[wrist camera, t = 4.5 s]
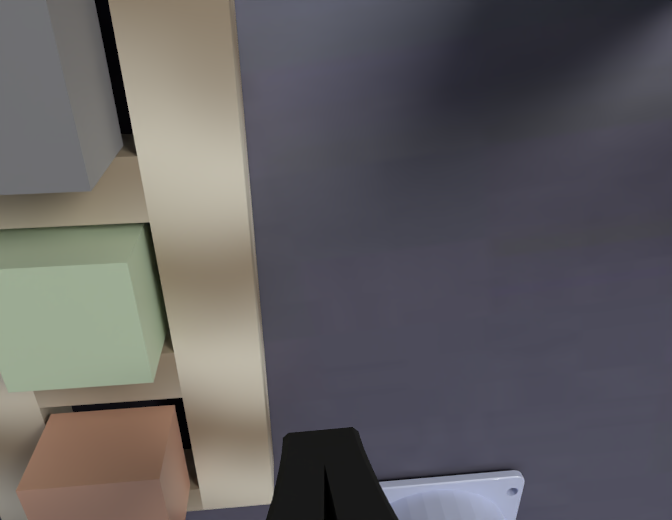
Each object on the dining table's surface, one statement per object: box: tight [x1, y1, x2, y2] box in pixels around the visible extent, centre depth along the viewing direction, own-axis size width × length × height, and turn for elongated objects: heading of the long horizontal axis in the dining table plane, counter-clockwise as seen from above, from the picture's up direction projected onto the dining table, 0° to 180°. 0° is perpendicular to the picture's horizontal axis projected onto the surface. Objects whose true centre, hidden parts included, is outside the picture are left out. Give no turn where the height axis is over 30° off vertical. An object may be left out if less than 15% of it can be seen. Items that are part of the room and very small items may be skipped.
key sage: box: [0, 222, 169, 393], centre depth 16 cm, size 4×4×3 cm
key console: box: [0, 0, 274, 520], centre depth 17 cm, size 20×10×2 cm, turn 0°
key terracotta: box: [16, 405, 190, 520], centre depth 18 cm, size 4×4×3 cm
